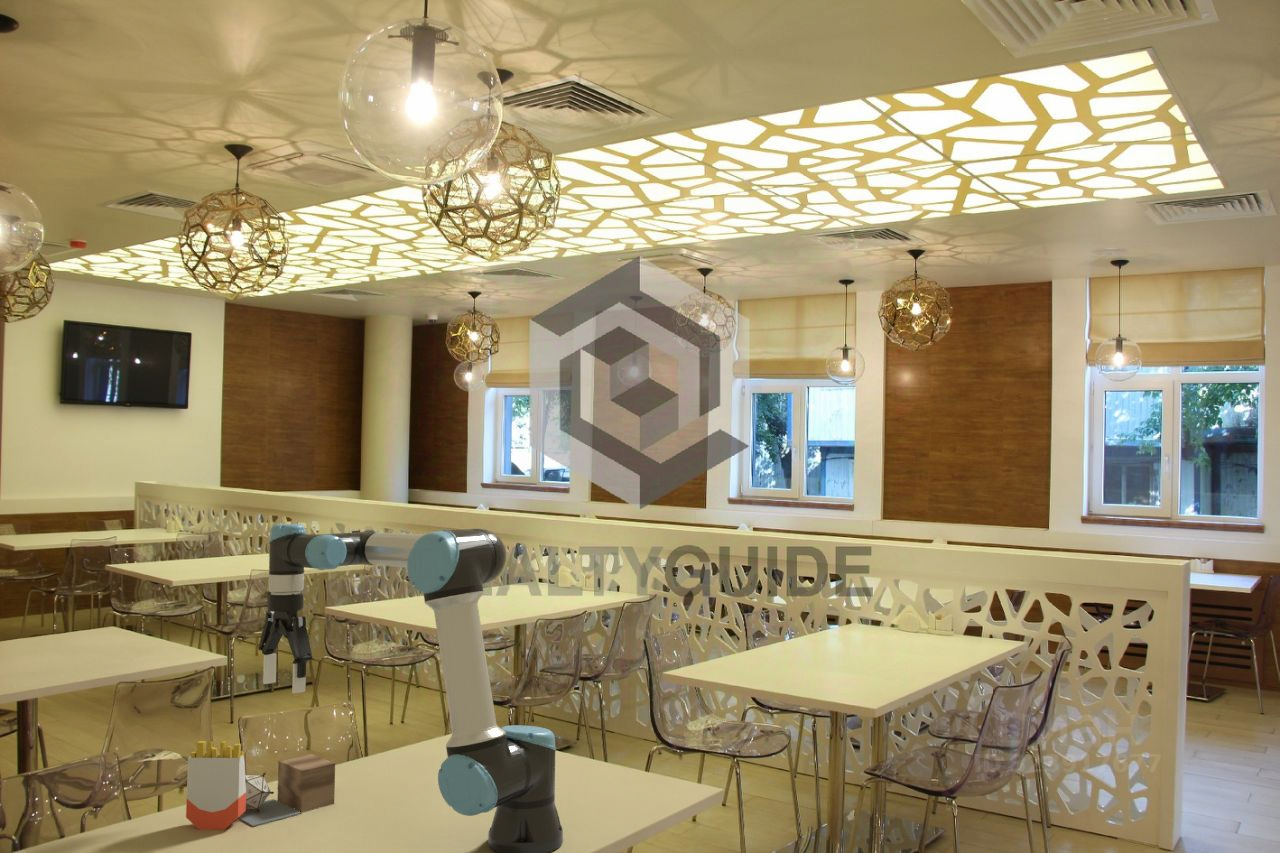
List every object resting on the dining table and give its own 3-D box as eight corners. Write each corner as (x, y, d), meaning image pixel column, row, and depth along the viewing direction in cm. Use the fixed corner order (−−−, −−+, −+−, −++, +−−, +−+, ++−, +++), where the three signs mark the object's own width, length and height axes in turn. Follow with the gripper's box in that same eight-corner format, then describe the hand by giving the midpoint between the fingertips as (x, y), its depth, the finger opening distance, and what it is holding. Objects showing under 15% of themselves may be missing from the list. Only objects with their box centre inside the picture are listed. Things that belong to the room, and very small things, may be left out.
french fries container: (195, 821, 209) (197, 736, 210) (245, 821, 209) (248, 736, 210) (185, 829, 204) (188, 742, 205) (237, 829, 204) (239, 742, 205)
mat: (301, 813, 214) (301, 812, 214) (253, 826, 206) (253, 825, 206) (273, 800, 223) (273, 799, 223) (225, 812, 214) (225, 810, 214)
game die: (284, 769, 219) (264, 793, 209) (275, 802, 221) (255, 827, 211) (246, 757, 219) (225, 780, 209) (238, 790, 221) (216, 814, 211)
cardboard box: (334, 803, 221) (335, 763, 221) (301, 812, 215) (302, 771, 215) (309, 792, 228) (310, 753, 229) (277, 800, 222) (278, 760, 223)
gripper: (329, 596, 214) (327, 693, 213) (275, 586, 231) (273, 677, 230) (297, 599, 208) (295, 699, 207) (244, 589, 225) (242, 681, 224)
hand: (283, 687), depth 218 cm, fingers open, 13 cm apart
